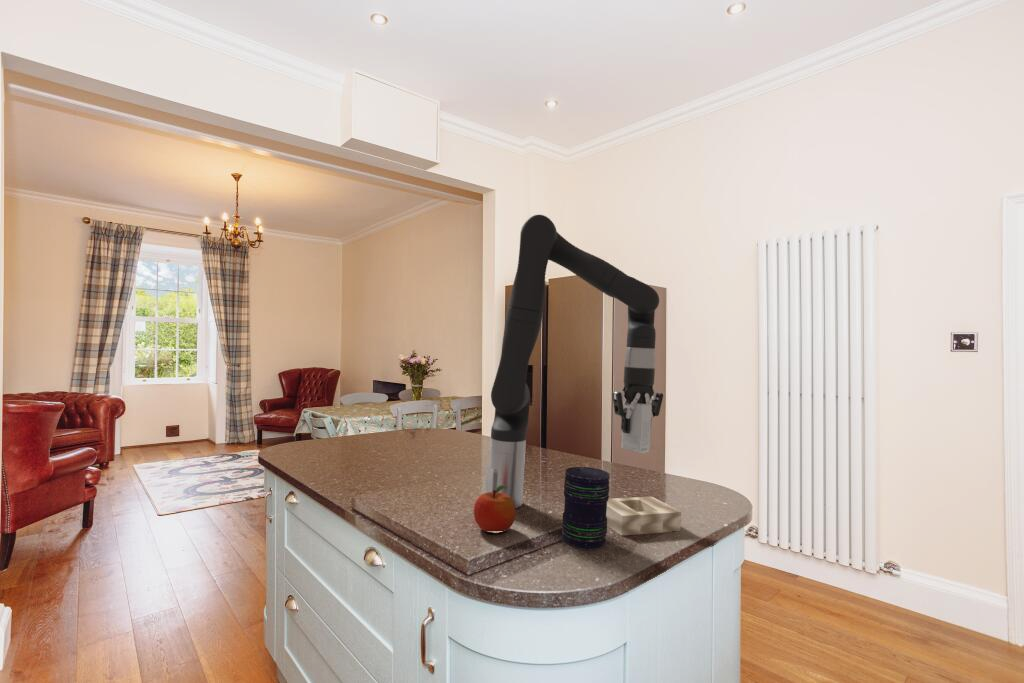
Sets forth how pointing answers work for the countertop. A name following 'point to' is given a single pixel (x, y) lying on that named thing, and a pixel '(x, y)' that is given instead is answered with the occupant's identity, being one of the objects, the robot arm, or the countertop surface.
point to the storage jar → (585, 507)
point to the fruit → (494, 511)
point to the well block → (641, 516)
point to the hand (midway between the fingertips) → (635, 432)
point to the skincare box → (638, 430)
